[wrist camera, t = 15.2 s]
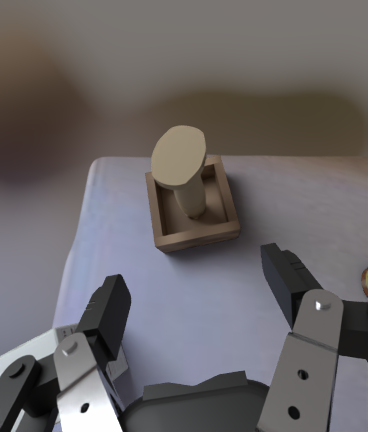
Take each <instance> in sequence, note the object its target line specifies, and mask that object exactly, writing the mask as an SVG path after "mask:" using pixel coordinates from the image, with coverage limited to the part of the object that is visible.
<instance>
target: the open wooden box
mask: <svg viewBox="0 0 368 432" xmlns="http://www.w3.org/2000/svg"><path fill="white" fill-rule="evenodd" d="M200 175H201V179H202V182H203V186H204V189H205V194H206V206H205V208H206V209H205V213H204V214H202V215H200V216H199V218H198V219H194V218H192V217H187V216H186V215H185V213H184V212H183V211H182V209H181V208H180V206H179V204H178V202H177V200H176V197H175V194H174V191H173V190H169V189H166V188H164V187H162V186H160V185H159V184H158V183H157V182H156V181H155V179H154V178H153V176H152V172H148V173H145V176H146V183H147V190H148V198H149V205H150V212H151V220H152V227H153V234H154V242H155V247H156V248H157V249H159V250H160V251H162V252H163V253H167V252H172V251H177V250H181V249H186V248H191V247H196V246H200V245H205V244H210V243H215V242H219V241H224V240H229V239H234V238H238V236H239V233H240V229H241V228H240V224H239V220H238V217H237V213H236V210H235V206H234V203H233V199H232V195H231V192H230V188H229V185H228V181H227V178H226V174H225V170H224V167H223V163H222V160H221V156H220V155H218V156H214V157H209V158H206V161H205V165H204V169H203V171H202V173H201V174H200Z"/></svg>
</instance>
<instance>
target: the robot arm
mask: <svg viewBox="0 0 368 432" xmlns="http://www.w3.org/2000/svg"><path fill="white" fill-rule="evenodd" d="M260 248H261V258H262V267H263V272H264V275H265V278H266V280H267V282H268V284H269V286H270V288H271V290H272V292H273V294H274V296H275V298H276V300H277V302H278V304H279V306H280V308H281V310H282V312H283V314H284V316H285V318H286V320H287V322H288V324H289V326H290V328H291V330H292V333H291V332H289V333H288V335H287V337H286V340H285V343H284V346H283V349H282V352H281V355H280V358H279V361H278V364H277V367H276V370H275V373H274V376H273V379H272V383H271V386H270V387H269V386H267V385H265V384H263V383H261V382H258V381H254V380H249V379H247V378H246V374H245V371H238V372H232V373H226V374H219V375H217V376H215V377H213V378H211V379H209V380H206V381H204V382H202V383H200V384H198V385H195V386H188V385H181V384H175V383H162V384H156V385H149V386H144V392H143V396H142V397H140V398H139V399H137V400H135V401H134V402H133V403H131V404H130V405H129V406H128V407H127V408H126V409H125V408H124V406H123V404H122V402H121V400H120V398H119V396H118V393H117V391H116V389H115V387H114V385H113V382H112V380H111V378H110V376H109V374H108V371H107V370H106V367H107V363H108V362H111V361H117V357H118V353H119V349H120V345H121V341H122V338H123V334H124V330H125V326H126V322H127V318H128V314H129V310H130V306H131V295H130V292H129V290H128V288H127V286H126V283H125V281H124V279H123V277H122V275H121V274H117V275H112V276H107V277H106V279H105V281H104V283H103V285H102V287H99V288H98V289H97V290H96V291H95V292H94V293H93V295H92V297H91V299H90V301H89V304H88V305H87V307H86V310H85V311H84V313H83V315H82V318H81V320H80V322H79V324H78V326H77V328H76V330H75V332H74V334H71V335H69V336H68V337H66V338H65V339H64V340H63V341H62V342H61V343H60V344H59V345H58V346H57V348H56V349H55V352H54V353H52V354H50V355H48V356H46V357H44V358H42V359H39V360H36V359H35V357H34V356H33V355H25V356H22V357H20V358H18V359H17V360H15V361H14V362H13V363H11V364H10V365H9V366H8V367H7V368H6V369H5V370H4V372H3V373H2V375H1V376H0V432H11V430H12V428H13V426H14V424H15V422H16V420H17V418H18V416H19V414H20V412H21V410H22V409H23V410H24V411H25V412H24V415H23V417H22V419H21V421H20V423H19V425H18V427H17V429H16V431H15V432H52V430H53V428H54V425H55V422H56V419H57V416H58V414H60V419H61V425H62V430H63V432H329V431H330V423H331V415H332V406H333V397H334V390H335V382H336V374H337V367H338V359H339V355H342V356H348V357H354V358H361V359H366V360H367V362H368V303H367V302H353V301H345V300H341V299H340V298H339V297H338V296H337V295H335V294H334V293H332V292H330V291H327V290H324V289H323V288H322V287H321V285H320V284H319V283H318V282H317V280H316V279H315V278H314V277H313V275H312V274H311V273H310V272H309V270H308V269H307V268H306V267H305V265H304V264H303V263H302V262H301V260H300V259H299V258H298V257H297V255H295V254H294V253H292V252H290V251H288V250H285V251H281V250H280V249H279V247H278V246H277V245H276V243H271V244H266V245H261V247H260Z"/></svg>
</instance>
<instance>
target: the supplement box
mask: <svg viewBox="0 0 368 432" xmlns="http://www.w3.org/2000/svg"><path fill="white" fill-rule="evenodd" d="M78 324H79V323H75V324H70V325H65V326H61V327H57V328H53V329H51V330H49V331H47V332H45V333H43V334H42V335H40V336H38V337H36V338H34V339H32V340H30V341H28V342H26V343H24V344H22V345H20V346H18V347H16V348H15V349H13V350H11V351H9V352H7V353H6V354H4V355H2V356H0V376H1V375H2V373H3V372H4V370H5V369H6V368H7V367H8V366H9V365H10V364H11V363H13V362H14V361H15V360H17V359H18V358H20V357H22V356H25V355H33V356H34V357H35V359H36V360H39V359H42V358H44V357H46V356H48V355H50V354H52V353H54V352H55V349H56V348H57V346H58V345H59V344H60V343H61V342H62V341H63V340H64V339H65V338H66V337H68V336H69V335H71V334H74V332H75V330H76V328H77V326H78ZM127 369H128V365H127V361H126V358H125V355H124V352H123V349H122V346H121V345H120V349H119V353H118V357H117V361H111V362H108V363H107V367H106V370H107V371H108V374H109V376H110V378H111V380H112V382H113V381H114V380H115V379H116V378H118V377H119V376H120V375H121V374H122V373H123V372H124V371H126V370H127ZM24 412H25V411H24V410H23V409H22V410H21V412H20V414H19V416H18V418H17V420H16V422H15V424H14V426H13V428H12V430H11V432H15V431H16V429H17V427H18V425H19V423H20V421H21V419H22V417H23V415H24ZM59 422H61V419H60V414H58V416H57V419H56V422H55V424H57V423H59Z"/></svg>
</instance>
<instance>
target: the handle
mask: <svg viewBox="0 0 368 432" xmlns="http://www.w3.org/2000/svg"><path fill="white" fill-rule="evenodd" d="M205 161H206V145H205V139H204V134H203V133H202V132H201V131H200V130H199V129H197V128H194V127H191V126H176V127H173V128H171V129H170V130H169V131H167V132H166V134H164V135H163V136H162V137H161V139H160V140H159V141H158V143H157V145H156V147H155V149H154V152H153V154H152V158H151V170H152V176H153V178H154V179H155V181H156V182H157V183H158V184H159V185H160V186H162V187H164V188H166V189H169V190H173V191H174V194H175V197H176V200H177V202H178V204H179V206H180V208H181V209H182V211H183V212H184V213H185V215H186V216H187V217H192V218H194V219H198V218H199V216H200V215H202V214H204V213H205V209H206V208H205V206H206V194H205V189H204V186H203V182H202V179H201V175H200V174H201V173H202V171H203V169H204V165H205Z"/></svg>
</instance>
